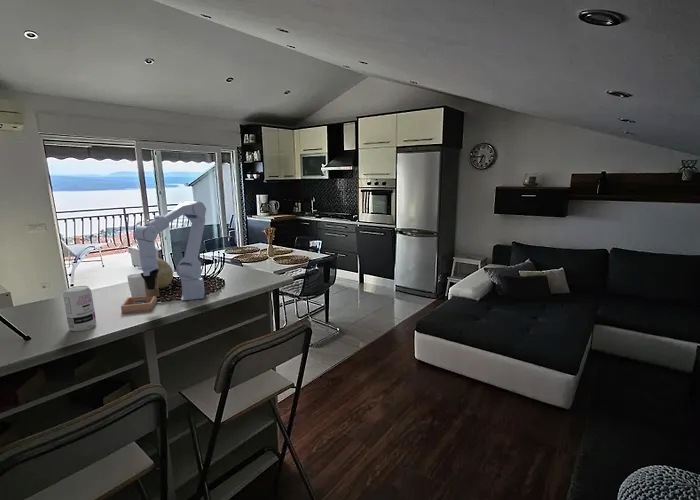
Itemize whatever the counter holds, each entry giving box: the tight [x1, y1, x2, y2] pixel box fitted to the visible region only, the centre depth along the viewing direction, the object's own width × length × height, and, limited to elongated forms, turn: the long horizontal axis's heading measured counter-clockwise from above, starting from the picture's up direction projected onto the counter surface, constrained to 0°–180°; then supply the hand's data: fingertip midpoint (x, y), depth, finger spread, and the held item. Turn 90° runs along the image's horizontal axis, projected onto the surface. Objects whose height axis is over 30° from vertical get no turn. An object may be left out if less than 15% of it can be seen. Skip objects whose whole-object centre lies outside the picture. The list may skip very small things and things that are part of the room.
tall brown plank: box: [144, 278, 160, 297], centre depth 146 cm, size 4×2×7 cm, turn 109°
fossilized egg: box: [156, 257, 174, 289], centre depth 176 cm, size 13×13×15 cm
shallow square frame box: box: [120, 296, 158, 314], centre depth 151 cm, size 11×11×3 cm
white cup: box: [126, 272, 146, 297], centre depth 165 cm, size 8×8×10 cm
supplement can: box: [62, 285, 97, 332], centre depth 131 cm, size 8×8×15 cm
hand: (152, 288), depth 146 cm, fingers closed on tall brown plank, 2 cm apart
